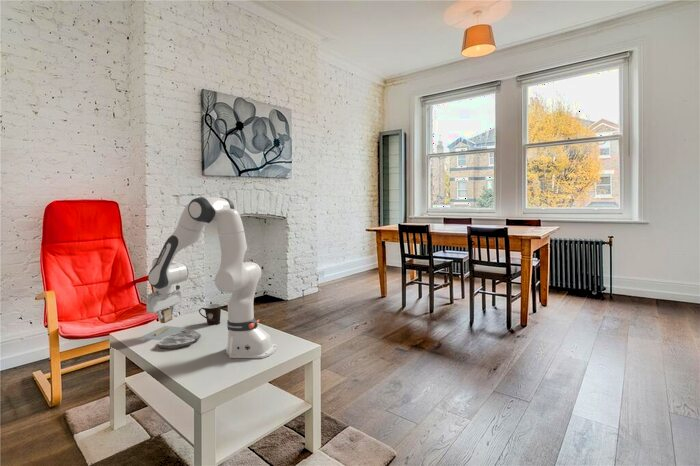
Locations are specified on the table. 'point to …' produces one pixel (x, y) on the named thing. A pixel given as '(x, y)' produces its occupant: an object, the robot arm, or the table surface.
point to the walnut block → (166, 315)
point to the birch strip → (161, 331)
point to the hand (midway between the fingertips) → (166, 316)
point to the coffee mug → (212, 313)
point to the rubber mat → (169, 332)
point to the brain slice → (179, 339)
